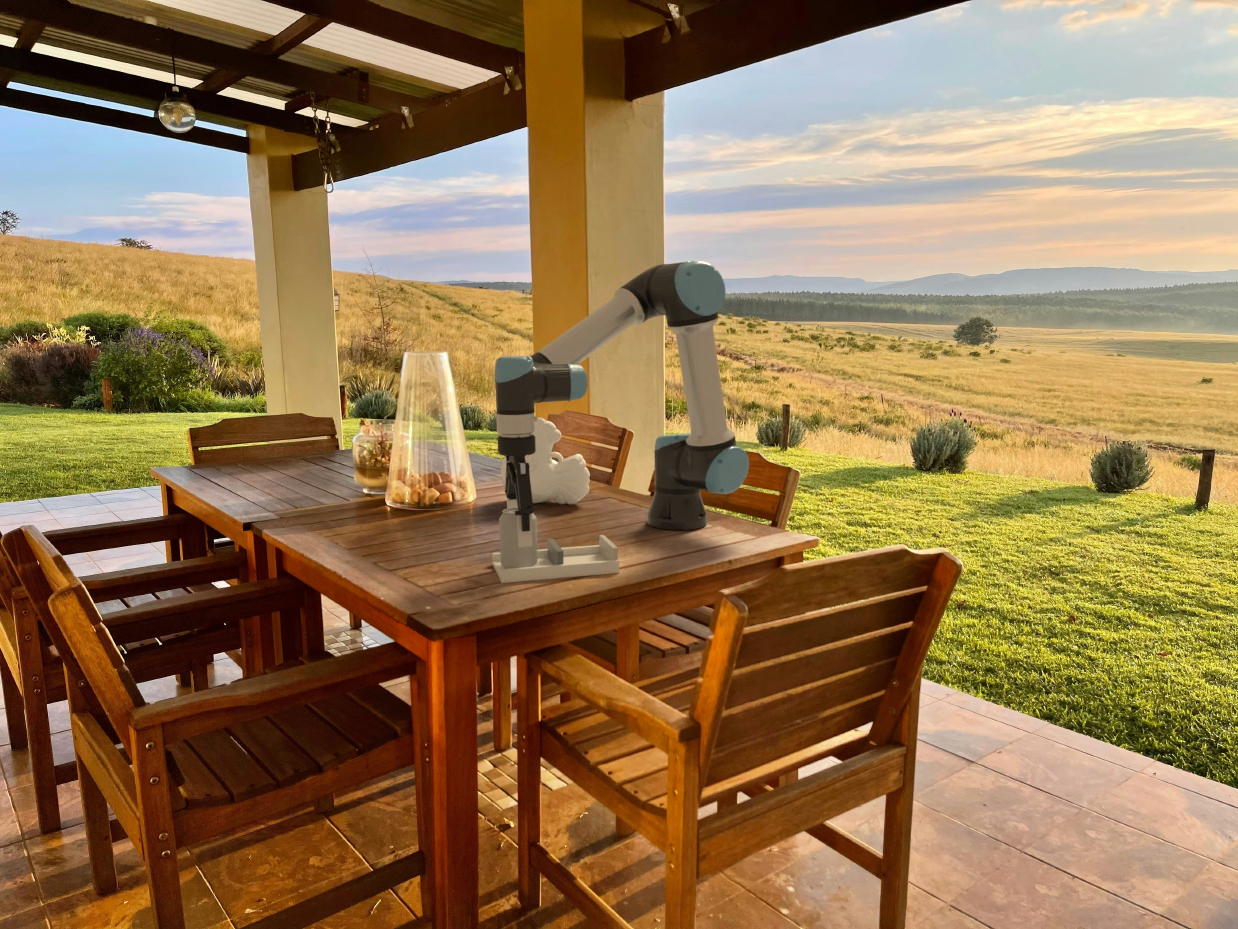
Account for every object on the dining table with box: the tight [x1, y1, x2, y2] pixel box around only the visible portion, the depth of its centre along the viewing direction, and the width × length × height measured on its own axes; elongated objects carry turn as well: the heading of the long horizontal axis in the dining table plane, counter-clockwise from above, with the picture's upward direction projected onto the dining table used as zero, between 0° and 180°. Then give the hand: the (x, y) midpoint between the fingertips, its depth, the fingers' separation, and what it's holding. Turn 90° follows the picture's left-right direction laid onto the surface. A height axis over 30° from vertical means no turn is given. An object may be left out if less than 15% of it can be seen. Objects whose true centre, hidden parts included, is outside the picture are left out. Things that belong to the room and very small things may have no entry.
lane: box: [492, 534, 620, 584], centre depth 168 cm, size 24×13×5 cm, turn 106°
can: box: [498, 507, 538, 569], centre depth 165 cm, size 8×8×12 cm
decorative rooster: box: [500, 417, 591, 505], centre depth 226 cm, size 25×16×25 cm
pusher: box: [546, 537, 563, 565], centre depth 168 cm, size 1×10×4 cm, turn 16°
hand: (519, 537), depth 165 cm, fingers open, 13 cm apart
